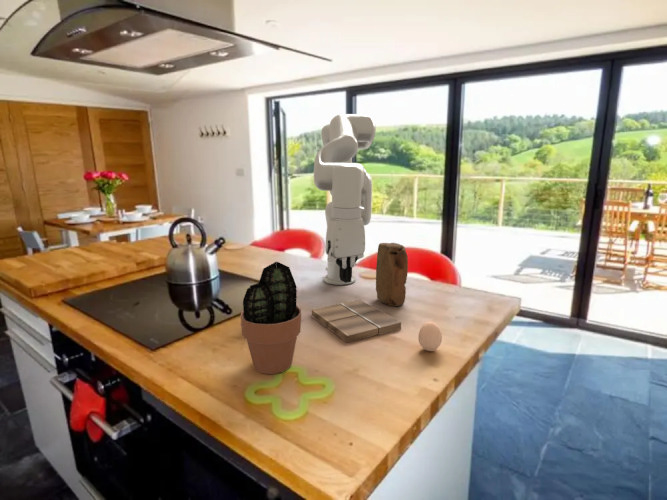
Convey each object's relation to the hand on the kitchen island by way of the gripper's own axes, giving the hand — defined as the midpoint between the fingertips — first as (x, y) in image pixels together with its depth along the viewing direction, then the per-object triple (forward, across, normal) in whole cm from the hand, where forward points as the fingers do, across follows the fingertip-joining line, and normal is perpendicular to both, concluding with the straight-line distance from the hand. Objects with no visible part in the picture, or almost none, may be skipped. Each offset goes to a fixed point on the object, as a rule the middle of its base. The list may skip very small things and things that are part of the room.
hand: (345, 280), depth 105 cm
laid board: (+15, -11, -5) cm, 20 cm away
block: (+16, -26, -13) cm, 33 cm away
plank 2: (+15, -2, +1) cm, 15 cm away
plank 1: (+15, -2, -10) cm, 18 cm away
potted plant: (+15, +24, +6) cm, 29 cm away
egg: (+15, -13, +19) cm, 28 cm away
